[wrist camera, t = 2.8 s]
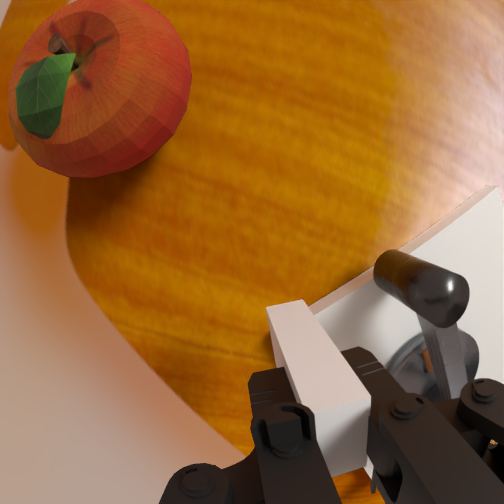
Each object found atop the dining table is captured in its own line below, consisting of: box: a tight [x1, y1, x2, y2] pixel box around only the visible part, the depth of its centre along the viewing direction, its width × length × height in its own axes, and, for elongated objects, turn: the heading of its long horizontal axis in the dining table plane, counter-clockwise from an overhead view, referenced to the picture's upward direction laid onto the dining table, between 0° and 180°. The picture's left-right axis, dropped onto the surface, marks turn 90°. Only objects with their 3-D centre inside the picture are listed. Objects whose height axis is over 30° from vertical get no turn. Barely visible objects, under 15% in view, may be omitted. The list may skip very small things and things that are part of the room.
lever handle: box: [373, 250, 479, 402], centre depth 17 cm, size 19×9×6 cm, turn 30°
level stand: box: [308, 185, 504, 487], centre depth 18 cm, size 22×20×8 cm
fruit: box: [9, 0, 192, 178], centre depth 12 cm, size 10×10×10 cm
